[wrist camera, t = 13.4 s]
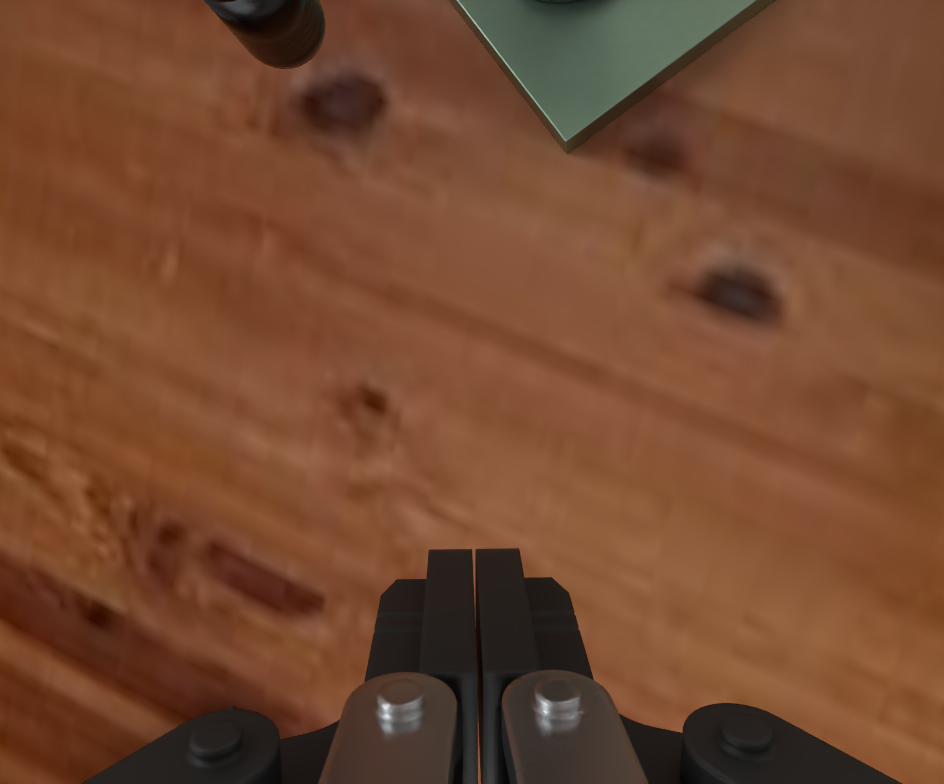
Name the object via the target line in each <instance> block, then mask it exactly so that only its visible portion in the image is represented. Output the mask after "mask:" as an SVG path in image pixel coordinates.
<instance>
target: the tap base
mask: <svg viewBox="0 0 944 784" xmlns="http://www.w3.org/2000/svg"><path fill="white" fill-rule="evenodd" d="M449 1H450V2H451V3H452V5H453V6H454V7H455V9H456V10H457V11H458V13H459V14H460V15H461V16H462V18H463V19H464V20H465V22H466V23H467V24H468V26H469V27H470V28H471V30H472V31H473V32H474V33H475V35H476V36H477V37H478V39H479V40H480V41H481V43H482V44H483V45H484V46H485V48H486V49H487V50H488V52H489V53H490V54H491V56H492V57H493V58H494V60H495V61H496V62H497V63H498V65H499V66H500V67H501V69H502V70H503V71H504V73H505V74H506V75H507V76H508V78H509V79H510V80H511V82H512V83H513V84H514V86H515V87H516V88H517V89H518V91H519V92H520V93H521V95H522V96H523V97H524V99H525V100H526V101H527V103H528V104H529V105H530V106H531V108H532V109H533V110H534V112H535V113H536V114H537V116H538V117H539V118H540V119H541V121H542V122H543V123H544V125H545V126H546V127H547V129H548V130H549V131H550V132H551V134H552V135H553V136H554V138H555V139H556V140H557V142H558V143H559V144H560V146H561V147H562V148H563V149H564V151H565V152H566V153H569V152H570V151H572V150H573V149H574V148H576V147H577V146H578V145H580V144H581V143H582V142H584V141H585V140H586V139H588V138H589V137H591V136H592V135H593V134H595V133H596V132H597V131H599V130H600V129H601V128H603V127H604V126H605V125H607V124H608V123H610V122H611V121H612V120H614V119H615V118H616V117H618V116H619V115H620V114H622V113H623V112H624V111H626V110H627V109H628V108H630V107H631V106H633V105H634V104H635V103H637V102H638V101H639V100H641V99H642V98H643V97H645V96H646V95H647V94H649V93H650V92H651V91H653V90H654V89H656V88H657V87H658V86H660V85H661V84H662V83H664V82H665V81H666V80H668V79H669V78H670V77H672V76H673V75H674V74H676V73H677V72H679V71H680V70H681V69H683V68H684V67H685V66H687V65H688V64H689V63H691V62H692V61H693V60H695V59H696V58H698V57H699V56H700V55H702V54H703V53H704V52H706V51H707V50H708V49H710V48H711V47H712V46H714V45H715V44H716V43H718V42H719V41H721V40H722V39H723V38H725V37H726V36H727V35H729V34H730V33H731V32H733V31H734V30H735V29H737V28H738V27H739V26H741V25H742V24H744V23H745V22H746V21H748V20H749V19H750V18H752V17H753V16H754V15H756V14H757V13H758V12H760V11H761V10H763V9H764V8H765V7H767V6H768V5H769V4H771V3H772V2H773V1H775V0H449Z"/></svg>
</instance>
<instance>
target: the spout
mask: <svg viewBox="0 0 944 784" xmlns="http://www.w3.org/2000/svg"><path fill="white" fill-rule="evenodd" d="M204 1H205V2H206V3H207V4H208V5H209V7H210V8H211V9H212V10H213V11H214V12H215V13H216V15H217V16H218V17H219V18H220V19H221V20H222V21H223V23H224V24H225V25H226V26H227V27H228V28H229V29H230V31H231V32H232V33H233V34H234V35H235V36H236V37H237V39H238V40H239V41H240V42H241V43H242V44H243V45H244V47H245V48H246V49H247V50H248V51H249V52H250V53H251V54H252V55H253V56H254V57H255V58H256V59H258V60H259V61H261V62H262V63H264V64H266V65H269V66H271V67H274V68H280V69H289V68H295V67H299V66H301V65H303V64H305V63H307V62H308V61H309V60H311V59H312V58H313V57H314V56H315V55H316V53H317V52H318V50H319V49H320V46H321V44H322V41H323V38H324V34H325V18H324V12H323V9H322V7H321V4H320V2H319V0H204Z"/></svg>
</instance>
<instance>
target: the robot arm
mask: <svg viewBox="0 0 944 784" xmlns="http://www.w3.org/2000/svg"><path fill="white" fill-rule="evenodd" d="M478 723H479V746H480V770H481V784H902V783H900V782H898V781H896V780H894V779H893V778H891V777H889V776H887V775H885V774H883V773H881V772H880V771H878V770H876V769H874V768H872V767H870V766H868V765H867V764H865V763H863V762H861V761H859V760H857V759H855V758H854V757H852V756H850V755H848V754H846V753H844V752H842V751H841V750H839V749H837V748H835V747H833V746H831V745H829V744H828V743H826V742H824V741H822V740H820V739H818V738H816V737H815V736H813V735H811V734H809V733H807V732H805V731H803V730H802V729H800V728H798V727H796V726H794V725H792V724H790V723H789V722H787V721H785V720H783V719H781V718H779V717H777V716H775V715H773V714H771V713H769V712H767V711H764V710H761V709H759V708H755V707H751V706H747V705H741V704H733V703H720V704H712V705H707V706H704V707H701V708H699V709H697V710H696V711H694V712H693V713H691V714H690V715H689V716H688V718H687V719H686V721H685V723H684V726H683V733H680V732H675V731H670V730H665V729H660V728H655V727H651V726H647V725H643V724H641V723H638V722H635V721H632V720H630V719H628V718H626V717H624V716H622V715H621V714H619V713H618V711H617V709H616V707H615V704H614V702H613V700H612V698H611V696H610V694H609V693H608V692H607V691H606V689H605V688H604V687H602V686H601V685H600V684H599V683H597V682H596V681H594V679H593V676H592V672H591V669H590V665H589V662H588V658H587V655H586V651H585V648H584V644H583V641H582V637H581V634H580V630H578V623H577V620H576V616H575V615H574V609H573V606H572V602H571V599H570V595H569V593H568V592H567V591H566V590H565V589H564V588H563V587H562V586H561V585H559V584H558V583H557V582H556V581H555V580H554V579H553V578H552V577H545V578H524V573H523V568H522V562H521V557H520V551H519V548H516V549H476V628H475V605H474V583H473V560H472V549H444V550H429V555H428V567H427V579H400V580H396V581H395V582H394V583H393V584H392V585H391V586H390V587H389V588H388V589H387V590H386V591H385V592H384V593H383V594H382V595H381V598H380V603H379V609H378V614H377V619H376V624H375V633H374V635H373V640H372V645H371V651H370V656H369V661H368V666H367V671H366V677H365V682H364V683H363V684H362V685H360V686H359V687H357V688H356V689H355V690H354V691H353V692H352V693H351V695H350V696H349V697H348V699H347V701H346V703H345V706H344V709H343V712H342V715H341V718H340V720H338V721H337V722H335V723H333V724H331V725H329V726H327V727H325V728H322V729H320V730H317V731H313V732H310V733H306V734H302V735H298V736H294V737H290V738H286V739H281V740H280V738H279V731H278V729H277V727H276V725H275V724H274V723H273V722H272V721H271V720H270V719H269V718H267V717H266V716H264V715H262V714H260V713H257V712H253V711H249V710H239V709H231V710H221V711H216V712H211V713H208V714H204V715H201V716H198V717H196V718H193V719H191V720H189V721H187V722H185V723H183V724H182V725H180V726H178V727H177V728H175V729H173V730H171V731H170V732H168V733H166V734H165V735H163V736H161V737H160V738H158V739H156V740H155V741H153V742H151V743H150V744H148V745H146V746H144V747H143V748H141V749H139V750H138V751H136V752H134V753H133V754H131V755H129V756H128V757H126V758H124V759H122V760H121V761H119V762H117V763H116V764H114V765H112V766H111V767H109V768H107V769H106V770H104V771H102V772H101V773H99V774H97V775H95V776H94V777H92V778H90V779H89V780H87V781H85V782H84V783H82V784H478Z"/></svg>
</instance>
